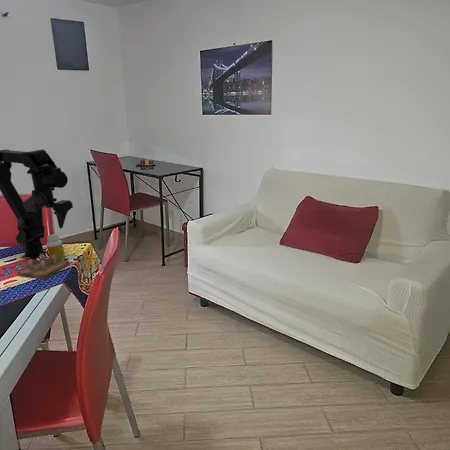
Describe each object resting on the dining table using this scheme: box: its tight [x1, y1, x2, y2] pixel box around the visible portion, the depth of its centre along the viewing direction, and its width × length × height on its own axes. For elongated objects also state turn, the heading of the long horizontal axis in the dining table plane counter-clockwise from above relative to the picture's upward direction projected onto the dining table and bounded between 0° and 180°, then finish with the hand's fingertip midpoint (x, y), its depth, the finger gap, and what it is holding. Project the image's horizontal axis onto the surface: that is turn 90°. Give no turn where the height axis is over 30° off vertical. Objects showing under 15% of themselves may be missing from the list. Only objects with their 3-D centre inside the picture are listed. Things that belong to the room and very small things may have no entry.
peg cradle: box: [17, 253, 71, 280], centre depth 143 cm, size 12×12×5 cm
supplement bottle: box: [46, 233, 66, 261], centre depth 151 cm, size 5×5×10 cm
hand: (51, 227), depth 148 cm, fingers open, 9 cm apart
